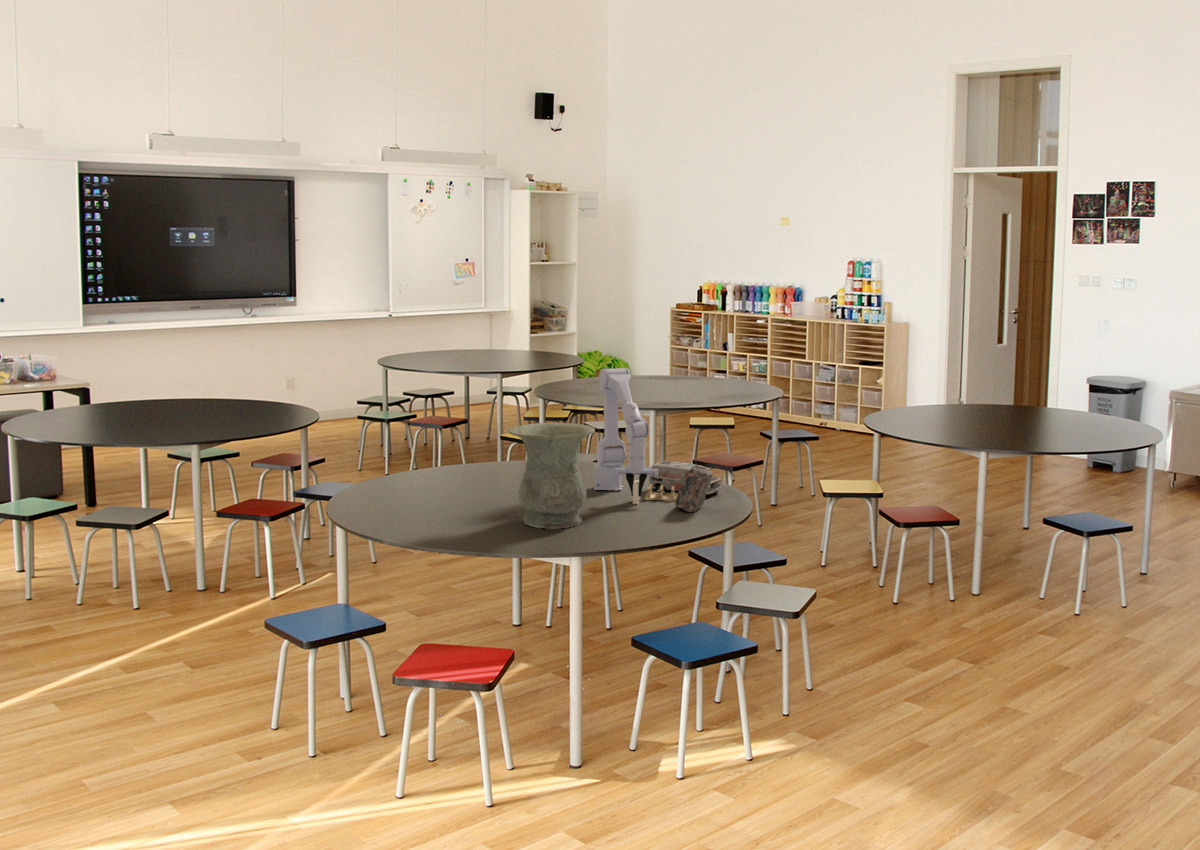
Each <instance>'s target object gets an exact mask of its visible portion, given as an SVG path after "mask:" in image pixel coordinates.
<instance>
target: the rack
mask: <svg viewBox="0 0 1200 850" xmlns="http://www.w3.org/2000/svg"><path fill="white" fill-rule="evenodd" d="M663 490H664V485H663V484H661V487H660V492H658V491H655V492H654V491H653V487H652V484H650V485H648V488H647V492H646V493H645V495H644V500H645V499H648V500H669V501H668V502H675V501H676V499H677V495H678V492H676V491H675V485H673V486H672V489H671V491H670V492H663Z"/></svg>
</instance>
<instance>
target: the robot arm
mask: <svg viewBox="0 0 1200 850" xmlns="http://www.w3.org/2000/svg"><path fill="white" fill-rule="evenodd" d="M631 378H632V375H631V371H630V370H629V368H628V367H622V368H621V367H620V368H619V367H617V368H602V369H601V370H600V372H599V374H598V383H599V384H598V386H599V391H600V392H603V394H602V395H603V424H604V425H603V429H604V435H603V436H604V437H602V438H601V440H600V441H598V442H597V444H596V452H595V458H596V461H597V463H598V464H595V466H594V467H595V468H594V491H595V490H618V489H622V490H623V488H624V485H622V475H625V479H626V482H627V484H628V486H629V488H630V493H631V497H633V483H634V481H635V475H637V476H638V475H639V476H638V480H639V496H640V497H641V496H642V493H643V487H644V484H645V482H646V479H647V477H648V476H649V475H655V476H658V469H651V468H649V467H646V438H647V437H648V436H649V433H650V432H649V423H648V422H647V421H646V420H645V418H644V417H642V414H641V413H640V410H639V407H638V405H637V403H634V402H633V398H632V395H631V390H630V383H631ZM618 399H619V400H620V403H621V405H622V407H621V411H620V412H621V414H622V416H623V419H624V422H625V435H626V441H627V444H628V451H626V450H627V449H626V444H625V442H624V441H623V440H622V439H621V438H619V413H618V412H619V411H618V410H619V409H618V407H619V406H618ZM627 452H628V455H627ZM627 456H628V460H627V461H628V462H627V464H628V465H627V467H622V466H623V465H624V463H625V462H626V459H627ZM621 487H623V488H621Z"/></svg>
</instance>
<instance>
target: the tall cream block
mask: <svg viewBox="0 0 1200 850" xmlns="http://www.w3.org/2000/svg"><path fill="white" fill-rule="evenodd" d="M639 500H640V501H641V496H639V479H638V480H637V479H636V480H635V479H634V483H633V496H632V504H633V503H636V504H638V503H639V504H640V502H639ZM639 504H638V505H639Z"/></svg>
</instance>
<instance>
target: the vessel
mask: <svg viewBox="0 0 1200 850" xmlns="http://www.w3.org/2000/svg"><path fill="white" fill-rule="evenodd" d="M595 432H596V429H595V427H593V426H590V425H588V424H582V423H581V424H580V423H570V422H568V423H567V422H539V423H537V422H536V423H532V424H531V423H530V424H522V425H516V426H513V427H510V428H509V429H508V433H509V434H510V435H512V436H515V437H518V438H520V440H522V442H523V445H524V447H525V451H526V464H525V471H524V473H523V474H524V475H523V477H522V479H521V480H520V486H519V490H518V501H519V503H520V504H521V506H522V507H523V508H524V509H525V510H527V513H526V515H524V517H522V519H523V520H522V521H523V524H525V525H526V526H528V527H531V528H532V527H533V528H536V529H541V528H545V529H544V530H562V529H561V528H565V529H570V528H569V527H571V528H574V527H573V526H575V527H577V525H578V526H580V525H581V524H582V523H583V518H582V516H581V515H580V514H578V513H579V512H578V510H579V509H581V508H582V507H583V506H584V505H585V504H586V501H587V496H588V495H587V489H586V484H585V480H584V479H583V477H582V475H581V472H580V469H579V462H578V451H579V446H580V444H581V442H582V440H583V439H584V438H585V437H587V436H590V435H592V434H594V433H595ZM581 522H582V523H581ZM580 523H581V524H580ZM579 524H580V525H579Z"/></svg>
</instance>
